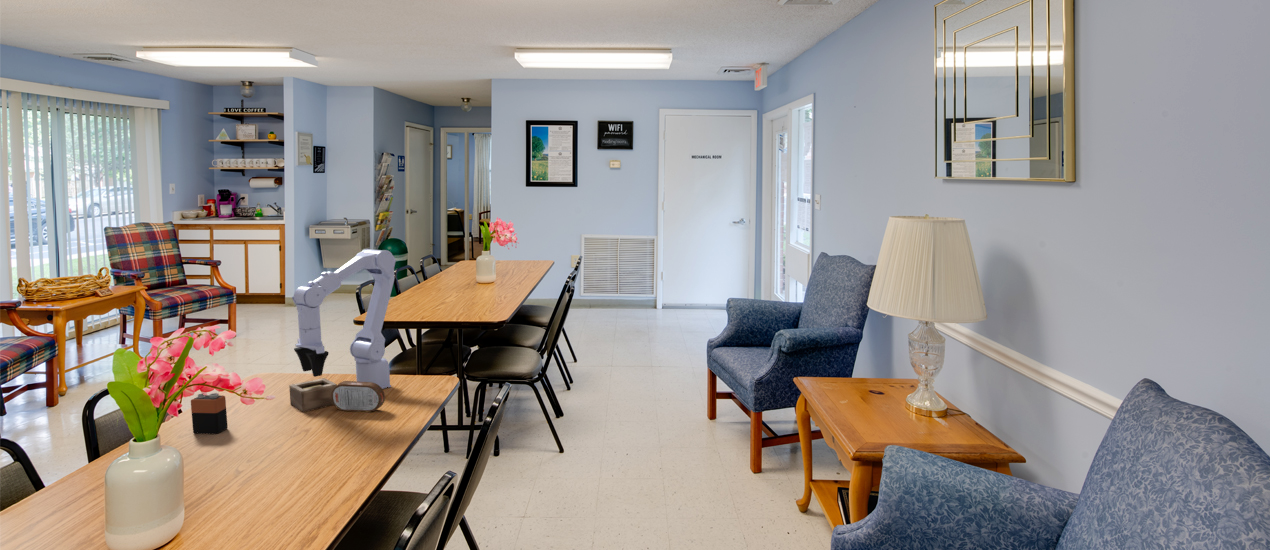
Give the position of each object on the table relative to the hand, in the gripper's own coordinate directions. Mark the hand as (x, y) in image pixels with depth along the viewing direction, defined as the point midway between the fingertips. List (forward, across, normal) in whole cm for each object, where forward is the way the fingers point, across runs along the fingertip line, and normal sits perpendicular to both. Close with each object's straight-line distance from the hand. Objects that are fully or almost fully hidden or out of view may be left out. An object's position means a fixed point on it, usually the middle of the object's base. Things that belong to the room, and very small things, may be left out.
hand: (312, 373), depth 199 cm
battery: (+10, +3, -28) cm, 29 cm away
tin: (+10, +14, +7) cm, 19 cm away
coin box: (+9, 0, 0) cm, 9 cm away
